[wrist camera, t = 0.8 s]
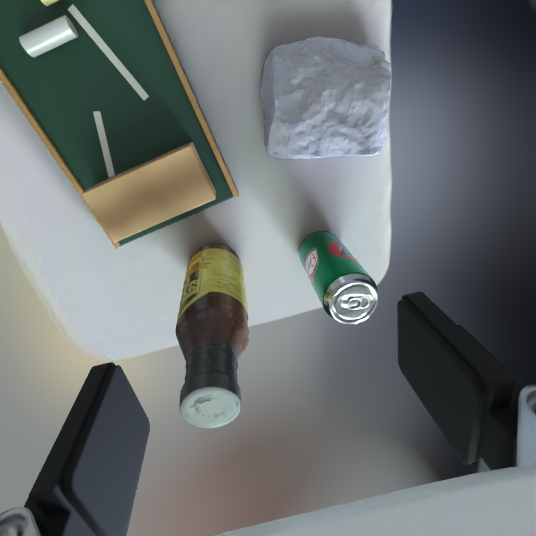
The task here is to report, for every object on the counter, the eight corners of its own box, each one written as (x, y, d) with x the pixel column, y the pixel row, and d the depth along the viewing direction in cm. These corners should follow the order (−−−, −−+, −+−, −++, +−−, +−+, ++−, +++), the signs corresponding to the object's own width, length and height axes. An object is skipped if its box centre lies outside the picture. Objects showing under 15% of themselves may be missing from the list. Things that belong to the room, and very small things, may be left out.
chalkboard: (-81, -56, 25) (-100, -66, 23) (88, -144, 24) (79, -159, 22) (120, 243, 37) (116, 248, 35) (238, 192, 36) (238, 196, 34)
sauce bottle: (190, 238, 37) (161, 362, 20) (245, 244, 38) (266, 367, 21) (186, 288, 40) (158, 438, 22) (238, 293, 41) (250, 438, 24)
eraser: (95, 183, 32) (79, 194, 29) (193, 140, 32) (189, 145, 28) (124, 228, 35) (113, 243, 31) (216, 188, 34) (215, 199, 30)
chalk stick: (36, 54, 28) (20, 34, 26) (79, 33, 27) (65, 12, 26) (32, 60, 27) (16, 39, 25) (77, 39, 26) (63, 17, 25)
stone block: (255, 53, 32) (262, 163, 34) (262, 31, 27) (270, 161, 30) (374, 50, 33) (372, 156, 36) (400, 29, 29) (396, 153, 31)
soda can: (295, 232, 38) (324, 284, 28) (338, 225, 39) (383, 273, 28) (299, 271, 41) (327, 332, 30) (340, 264, 41) (381, 321, 30)
